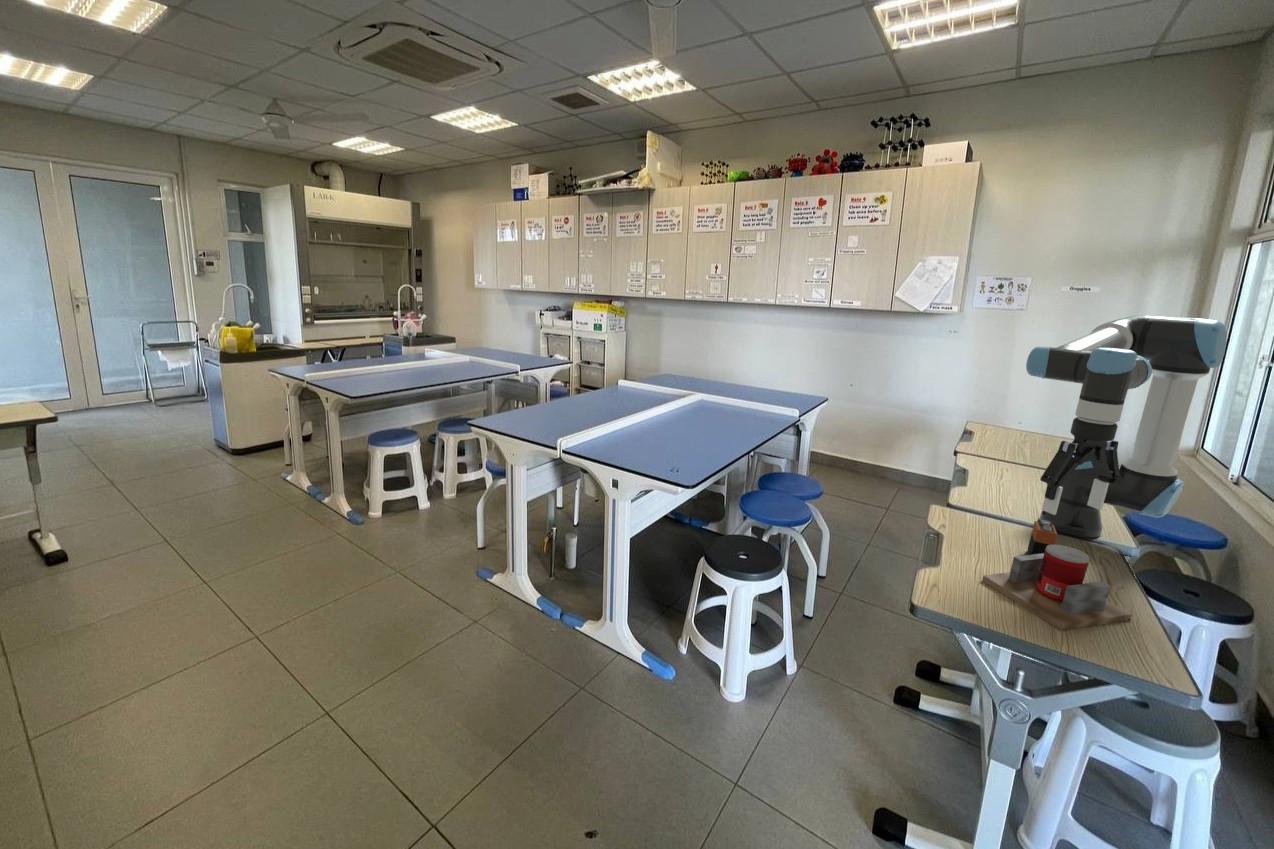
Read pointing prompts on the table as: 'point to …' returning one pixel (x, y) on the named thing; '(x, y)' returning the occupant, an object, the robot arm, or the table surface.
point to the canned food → (1061, 571)
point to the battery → (1041, 537)
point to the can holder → (1074, 612)
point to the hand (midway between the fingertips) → (1071, 509)
